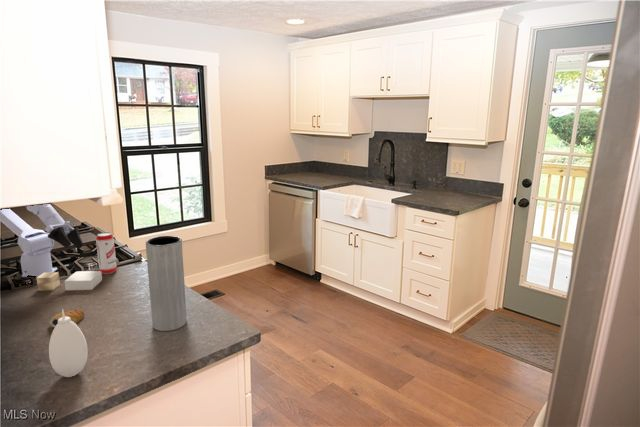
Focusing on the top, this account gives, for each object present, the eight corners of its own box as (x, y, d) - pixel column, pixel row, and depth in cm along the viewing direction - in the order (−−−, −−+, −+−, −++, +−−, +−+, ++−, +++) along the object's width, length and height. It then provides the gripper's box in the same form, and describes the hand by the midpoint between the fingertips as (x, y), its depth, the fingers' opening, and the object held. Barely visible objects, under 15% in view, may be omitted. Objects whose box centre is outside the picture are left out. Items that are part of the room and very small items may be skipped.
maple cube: (38, 290, 147) (36, 277, 145) (45, 285, 151) (43, 272, 150) (53, 290, 147) (51, 277, 146) (60, 284, 152) (58, 272, 151)
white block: (65, 291, 147) (64, 280, 146) (77, 281, 156) (76, 271, 155) (92, 290, 148) (90, 280, 147) (102, 280, 157) (101, 271, 156)
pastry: (73, 313, 131) (72, 302, 131) (90, 316, 130) (89, 305, 129) (47, 327, 123) (46, 316, 122) (65, 331, 121) (64, 319, 120)
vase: (152, 318, 129) (145, 237, 123) (185, 313, 133) (180, 234, 126) (152, 334, 120) (145, 247, 114) (187, 328, 124) (182, 243, 117)
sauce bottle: (45, 380, 99) (34, 312, 95) (74, 362, 106) (65, 298, 102) (68, 388, 96) (58, 319, 92) (97, 369, 103) (89, 304, 99)
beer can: (120, 269, 167) (116, 232, 164) (111, 275, 161) (107, 236, 157) (105, 268, 168) (101, 231, 164) (96, 274, 162) (91, 236, 158)
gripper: (47, 210, 146) (71, 238, 145) (72, 214, 160) (94, 240, 159) (32, 223, 145) (56, 251, 144) (58, 226, 160) (80, 252, 158)
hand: (75, 246), depth 151 cm, fingers open, 7 cm apart
